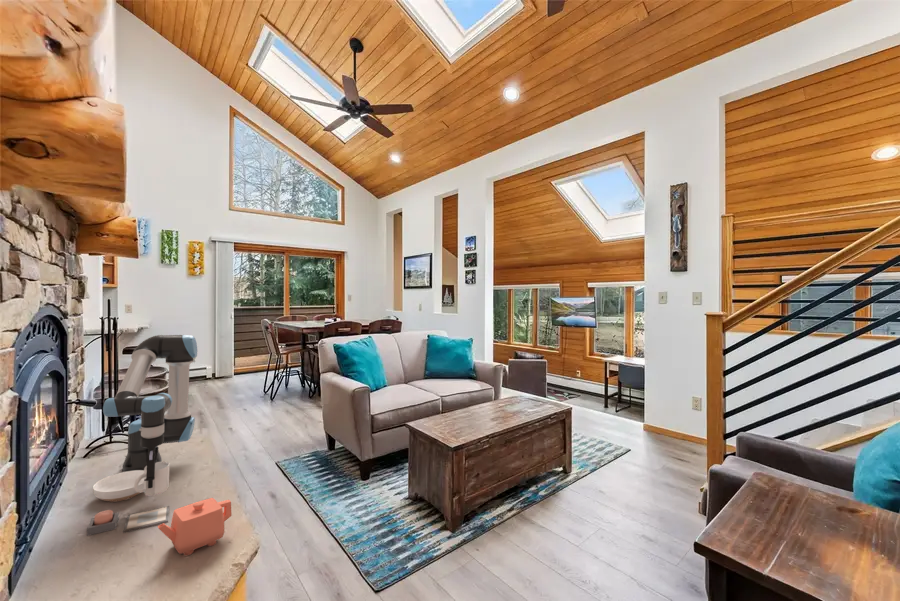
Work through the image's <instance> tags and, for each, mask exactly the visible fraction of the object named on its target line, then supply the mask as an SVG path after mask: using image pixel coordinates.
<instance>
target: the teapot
mask: <svg viewBox="0 0 900 601" xmlns="http://www.w3.org/2000/svg"><path fill="white" fill-rule="evenodd" d="M232 516H233V514H232V502H231V500H230V499H226V500H221V501H217V500H216V499H215V498H214V497H210V498H207V499H202V500H199V501H197V502H192V503H190V504H187V505H185V506H182V507H178V508H175V509H174V510H173V512H172V516H171V522H170V526H169V525H167V523H163V524H158V525H157V528H158V530H159V531H160V532H162V533H163V535H165V537H167V538H168V539H169V540H170V541H171V544H172V545H173V547H174V548H175V550H176V551H177V553H178V554H179V555H181V554H183V555H184V556H186V557H187V556H191V555H192V554H194V552H195V550H197V549H200V548H201V547H204V546H208V547H212V546H215V545H216V544H217V541H218V540H220V539H222V538H223V537H224V534H225V522H226V521H227V520H228V519H230V518H231V517H232Z"/></svg>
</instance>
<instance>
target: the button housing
mask: <svg viewBox="0 0 900 601" xmlns="http://www.w3.org/2000/svg"><path fill="white" fill-rule="evenodd" d="M119 517H120V516H119V512H118V511H117V512H113V520H112V522H109V523H104V524H100V525H95V526H94V518H95V516H94V517H92V518H90V521H89V524H88V526H87V530H86V536H87V537H88V536H91V535H96V534H101V533H103V532H108V531H113V530H116V528H117V524H118V522H119Z"/></svg>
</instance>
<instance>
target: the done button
mask: <svg viewBox="0 0 900 601" xmlns="http://www.w3.org/2000/svg"><path fill="white" fill-rule="evenodd" d="M113 513H114V511H113V509H112V510H111V509H107V510H101V511H100V512H96V514H95V515H94V517H95V518H94V517H93V518H94V526H95V525H100V524H104V523H109V522H112V520H113Z"/></svg>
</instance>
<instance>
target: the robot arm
mask: <svg viewBox="0 0 900 601" xmlns="http://www.w3.org/2000/svg"><path fill="white" fill-rule="evenodd" d="M197 345H198V344H197V340H196V338H195V336H194V335H191V334H169V335H168V334H158V335H153V336H151V337H148V338H146V339H144V340H143V341H141V342H140V343H139V344H138V345H137V346H136V347H135V348H134V349H133V351H132V354H131V362H130V364H129V366H128V368H127V370H126V372H125V374H124V377H123V379H122V381H121V384H120V385H119V387H118V390H117V392H116V394H115V396H114V397H109V398H107V399H106V400H105V401H104V403H103V406H102V412H103V415H104V416H105V417H110V418H111V417H113V418H114V417H118V418H119V417H125V416H137V415H138V416H139V415H140V418H139V419H137V420H136V419H135V420H134V421H132V422H131V423H129V425H128V431H127V454H126V456H125V459H124V461H123V464H122V471H121V472H127V471H135V470H144V468H145V467H146V466H147V473H146V479H144V481H146V494H145V496H146V497H149V496H150V495H151V496H155V495H154V494H155V477H154V476H155V463H156V462H163V461H162V460H163V458H162V455H161V453H160V451H159V446H161V445H162V444H172V443H182V442H187V441H189V440H190V439H191V438H192V435H193V432H194V428H195V424H196V422H195V421H196V420H195V419H196V418H195V417H194V416H192V413H191V412H190V411H189V388H190V365H191V364H192V363H193V362H194V359H195V358H197V357H198V346H197ZM157 359H165V363H166V364H167V365H168V384H167V385H168V387H167V392H166V393H165V392H160V393H157V394H155V395H142V396H141V395H140V393H141V390H142V389H143V385H144V383H145V381H146V378H147V375H148V374H149V371H150V368H151V366H152V364H154V363H155V361H156V360H157ZM165 413H166V414H165Z"/></svg>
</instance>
